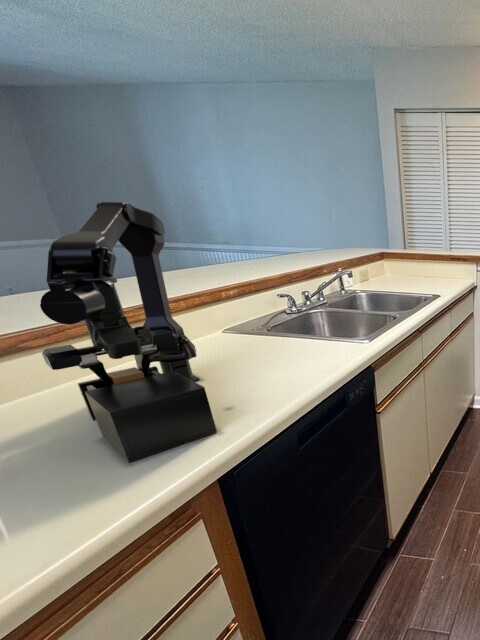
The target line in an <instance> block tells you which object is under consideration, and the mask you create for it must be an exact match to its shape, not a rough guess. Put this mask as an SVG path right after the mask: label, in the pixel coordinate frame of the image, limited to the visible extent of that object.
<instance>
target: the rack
mask: <svg viewBox="0 0 480 640" xmlns="http://www.w3.org/2000/svg"><path fill="white" fill-rule="evenodd" d="M158 374H162V373H161V372H160V371H159V368H158V367H157V366H156V365H154V366H150V367H149V374H148V377H149V376H153V375H158ZM77 386H78V388H79V391H80V393H81V396H82V398H83V401H84V403H85V406H86V409H87V411H88V414H89V417H90V418H91V420H92V421H93V422H95V421H96V418H95V416H94V413H93V411H92V408H91V406H90V403H89V401H88V398H87V395H86V393H85V391H89V390H93V389H98V388H102V387H106V385H105V384H104V383H103V382H102V381H101V379H100V378H96V379H92V380H91V379H90V380H86V381H82V382H77Z"/></svg>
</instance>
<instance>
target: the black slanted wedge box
mask: <svg viewBox="0 0 480 640" xmlns="http://www.w3.org/2000/svg"><path fill="white" fill-rule="evenodd" d="M85 393H86V395H87V398H88V401H89V403H90V406H91V408H92V411H93V413H94V416H95V418H96V420H95V421H96V423H97V426H98V428H99V431H100V433H101V436H102V438H103V439H104V440H105V441H106V442H107V443H108V444H109V445H110V447H112V448H113V449H114V450H115V451H116V452H117V453H118V454H119V455H120V456H121V457H122V458H123V459H124V460H125V461H126V462H127V463H128V464H131V463H135V462H137V461H140V460H142V459H146V458H148V457H151V456H154V455H158V454H160V453H163V452H165V451H168V450H172V449H174V448H177V447H180V446H183V445H185V444H186V445H187V444H188V443H191V442H193V441H196V440H199V439H203V438H205V437H209V436H211V435H214V434H216V433H218V430H217V427H216V423H215V420H214V415H213V412H212V409H211V405H210V402H209V398H208V395H207V391H206V388H205V387H204V386H202V385H201V384H199V383H197V382H196V381H195V382H194V381H192V380H190V379H188V378H186V377H184V376H183V375H181V374H179V373H177V372H175V371H170V372H166V373H163V372H162V373H161V374H158V375H153V376H149V377H145V378H141V379H136V380H132V381H128V382H123V383H119V384H115V385H111V386H106V387H102V388H98V389H93V390H89V391H85Z"/></svg>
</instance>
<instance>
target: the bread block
mask: <svg viewBox="0 0 480 640" xmlns="http://www.w3.org/2000/svg"><path fill="white" fill-rule="evenodd" d="M107 374H108V376H109V378H110V379H111V381H112V383H113V385H115V384H119V383H123V382H128V381H132V380H136V379H141V378H145V377H144V374H143V372H142V371H140V370H139V369H138V368H137V367H135V366H134V367H130V368H123V369H121V370H115V371H111V372H107Z"/></svg>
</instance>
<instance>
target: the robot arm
mask: <svg viewBox="0 0 480 640" xmlns="http://www.w3.org/2000/svg"><path fill="white" fill-rule="evenodd" d="M165 230H166V229H165V226H164V223H163V222H162V220H161V218H159V217H158V216H156V215H155V214H154V213H152V212H150V211H147V210H144V209H141V208H138V207H135V206H133V205H132V204H131V203H128V202H126V201H104V200H102V201H100V202H98V203H97V204H96V210H95V211H94V212H93V213H92V215H91V216H89V219H88V220H87V221H86V222H85V223H84V225H83V226H82V227H81V228H80V229H79V231H76V232H74V233H71V234H67V235H63V236H61V237H59V238H57V239H55V240H53V242H52V243H51V245H50V247H49V249H48V255H47V256H48V257H47V268H46V269H47V270H46V283H47V286H48V289H49V290H47V291H46V292H45V293H44V294H43V295H42V296H41V298H40V304H39V307H40V309H41V311H42V313H43V314H44V315H45V316H46V317H47V318H48V319H50V320H51V321H54V322H55V323H58V324H62V325H75V324H78V323H81V322H84V325H85V327H86V330H87V332H88V335H89V339H90V340H91V343H92V346H91V345H90V346H86V347H80V348H77V347H75V346H73V345H72V344H66V345H59V346H53V347H49V348H44V350H43V351H42V352H41V354H42V357H43V360H44V362H45V365H47V366H48V367H49V368H50V369H51V370H52V371H58V370H63V369H64V370H65V369H68V368H74V367H78V368H80V369H81V370H85V369H89V370H90V372H92V373H94V374H95V375H96V376H97V377H98V379H101V381H102V382H103V383H104V384H105V385H106V386H111V385H113V383H112V381H111V379H110V378H109V376H108V374H107V373H108V372H107V370H106V368H105V365H104V363H103V362H102V361H101V360H99V358H98V357H99V356H104V355H107V356H108V357H109V358H110V359H112V360H120V359H123V358H125V357H129V356H130V357H131V356H134V361H135V364H136V368H137V369H139V370H140V371H142V372H143V374H144V377H148V374H149V368H150V367H151V364H152V363H157V362H158V363H159V365H160V369H161V372H162V373H166V372H170V371H175V372H177V373H179V374H181V375H183V376H184V377H186V378H188V379H190V380H192V381H194V382H195V383H196V382H198V381H200V377H199V376H196V375H194V372H193V370H192V366H191V363H190V360H191V359H194V358H197V357H198V355H197V349H196V346H195V344H194V343H193V342H192V341H191V340H190V339H189V338H188V336H187V335H185V331H184V328H183V327H182V326H181V325H180V324H179V323H178V322H177V321H176V320H175V319H174V318H173V316H172V312H171V307H170V303H169V298H168V294H167V289H166V284H165V279H164V274H163V270H162V265H161V261H160V258H159V257H160V256H159V255H160V253H161V251H162V249H163V247H164V246H165V237H164V236H165V233H166V231H165ZM118 242H119V244H120V245H121V246H122V247H123V248H124V249H125V250H127V252H128V253H129V254H130V255H131V259H132V264H133V268H134V272H135V276H136V281H137V285H138V289H139V294H140V298H141V303H142V307H143V311H144V316H145V321H144V323H143V325H138V326H135V327H132V326H131V324H130V323H129V320H128V319H127V317H126V314H125V312H124V309H123V306H122V303H121V300H120V297H119V293H118V291H117V288H116V285H115V284H116V283H118V279H117V278H116V277H114V270H115V266H116V263H117V257H116V254H115V253H114V251H113V250H114V247H115V246H116V244H118Z"/></svg>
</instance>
